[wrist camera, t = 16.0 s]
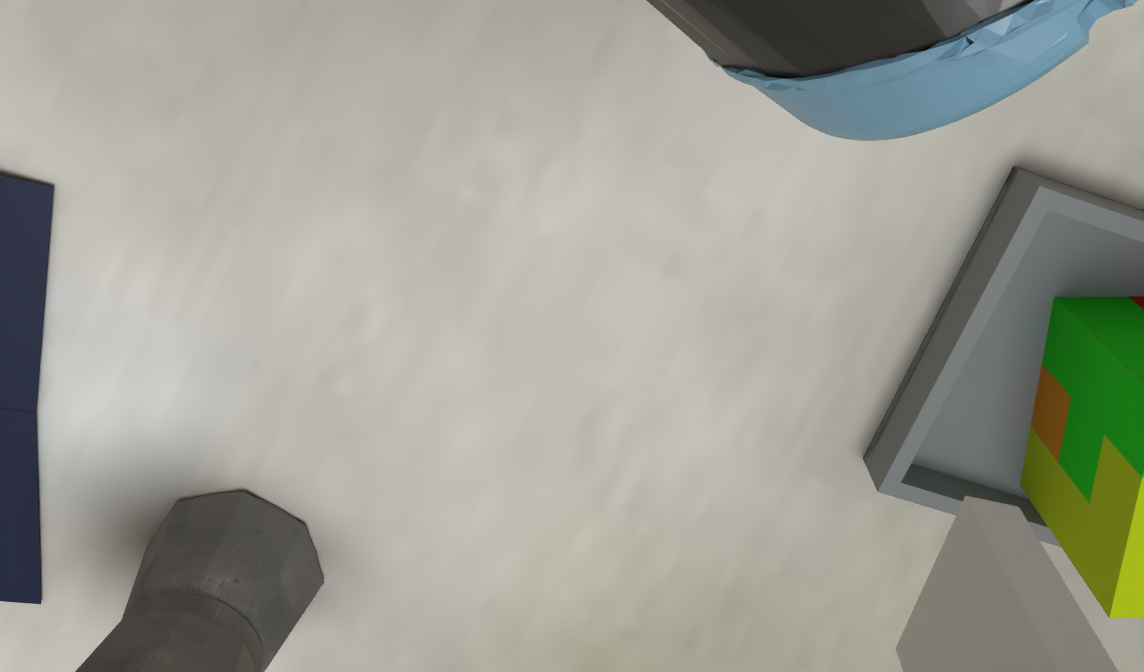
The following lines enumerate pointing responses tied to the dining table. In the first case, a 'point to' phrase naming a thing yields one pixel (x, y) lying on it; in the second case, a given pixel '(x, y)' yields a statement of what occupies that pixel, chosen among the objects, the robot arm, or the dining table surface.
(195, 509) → the coffeepot
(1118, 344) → the puzzle toy
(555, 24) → the dining table surface
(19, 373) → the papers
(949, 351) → the tray
